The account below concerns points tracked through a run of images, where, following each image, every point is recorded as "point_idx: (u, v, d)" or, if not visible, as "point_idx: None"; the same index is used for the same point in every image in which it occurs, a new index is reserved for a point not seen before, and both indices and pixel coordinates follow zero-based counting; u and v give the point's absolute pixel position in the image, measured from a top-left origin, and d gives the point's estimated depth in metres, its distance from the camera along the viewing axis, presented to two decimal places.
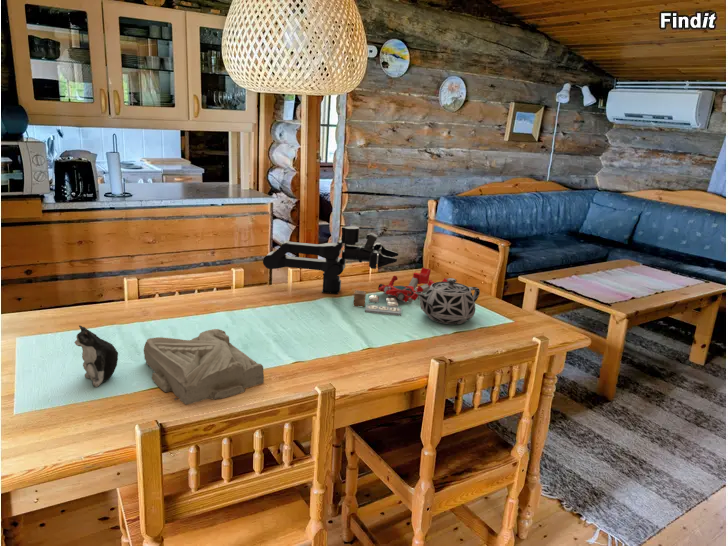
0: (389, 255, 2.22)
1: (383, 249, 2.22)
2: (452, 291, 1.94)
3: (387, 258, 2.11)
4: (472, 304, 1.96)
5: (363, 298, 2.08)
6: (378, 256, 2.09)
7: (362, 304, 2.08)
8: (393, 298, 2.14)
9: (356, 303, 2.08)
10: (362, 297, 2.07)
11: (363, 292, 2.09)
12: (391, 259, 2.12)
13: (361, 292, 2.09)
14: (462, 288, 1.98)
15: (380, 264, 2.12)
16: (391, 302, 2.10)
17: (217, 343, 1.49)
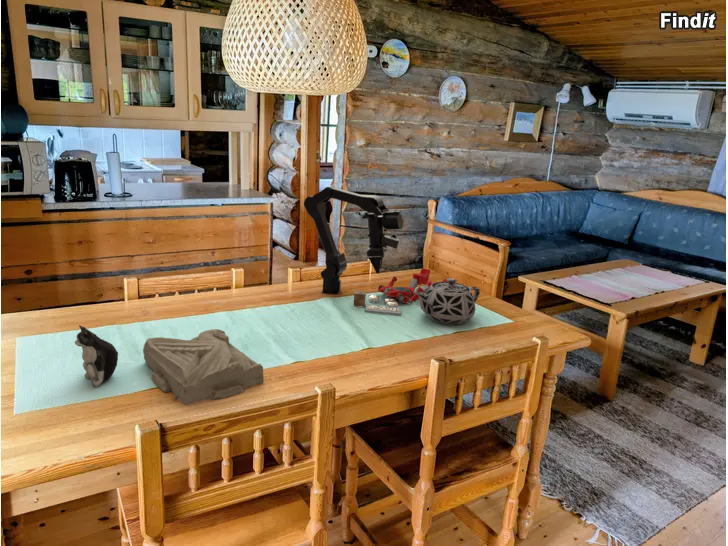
0: None
1: None
2: (452, 291, 1.94)
3: (378, 264, 2.06)
4: (472, 304, 1.96)
5: (363, 298, 2.08)
6: (380, 256, 2.03)
7: (362, 304, 2.08)
8: (392, 299, 2.14)
9: (356, 303, 2.08)
10: (362, 297, 2.07)
11: (363, 292, 2.09)
12: (378, 268, 2.07)
13: (361, 292, 2.09)
14: (462, 288, 1.98)
15: (371, 258, 2.05)
16: (391, 302, 2.10)
17: (217, 343, 1.49)
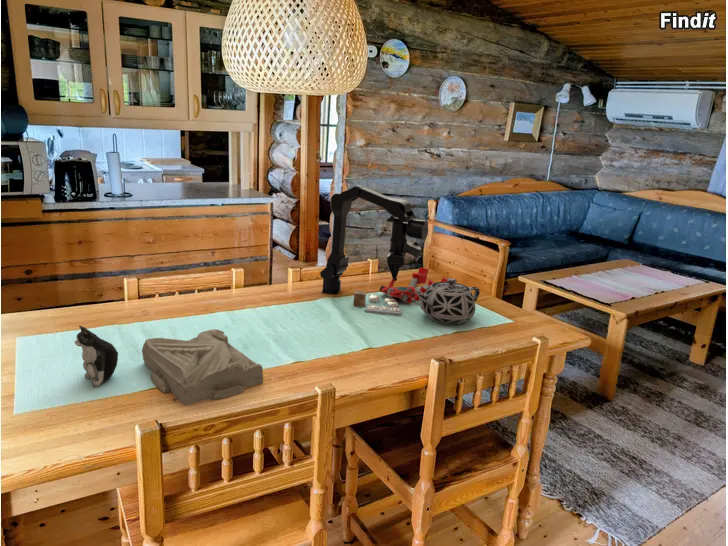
0: None
1: None
2: (452, 291, 1.94)
3: (396, 271, 2.01)
4: (472, 304, 1.96)
5: (363, 298, 2.08)
6: (400, 264, 1.98)
7: (362, 304, 2.08)
8: (391, 299, 2.14)
9: (356, 303, 2.08)
10: (362, 297, 2.07)
11: (363, 292, 2.09)
12: (395, 275, 2.02)
13: (361, 292, 2.09)
14: (462, 288, 1.98)
15: None
16: (391, 302, 2.10)
17: (216, 343, 1.49)
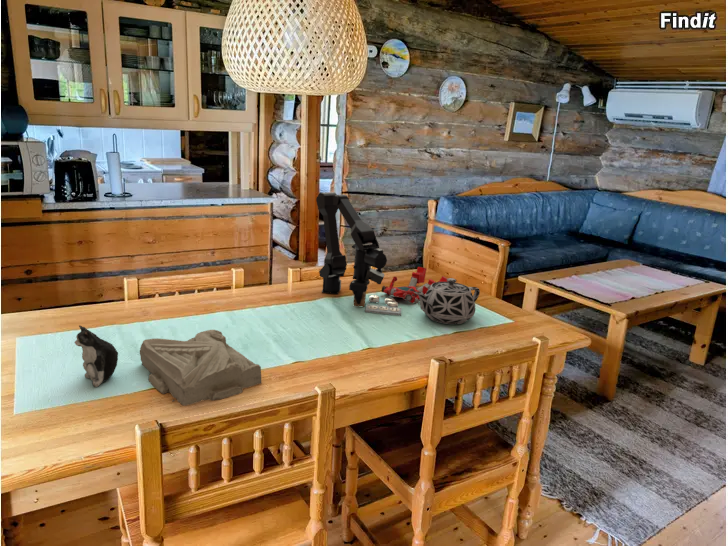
0: None
1: None
2: (452, 291, 1.94)
3: (360, 296, 2.06)
4: (472, 304, 1.96)
5: (363, 298, 2.08)
6: None
7: (362, 304, 2.08)
8: (391, 299, 2.14)
9: (356, 303, 2.08)
10: (362, 297, 2.07)
11: (363, 292, 2.09)
12: (359, 299, 2.07)
13: None
14: (462, 288, 1.98)
15: None
16: (391, 302, 2.10)
17: (214, 344, 1.48)
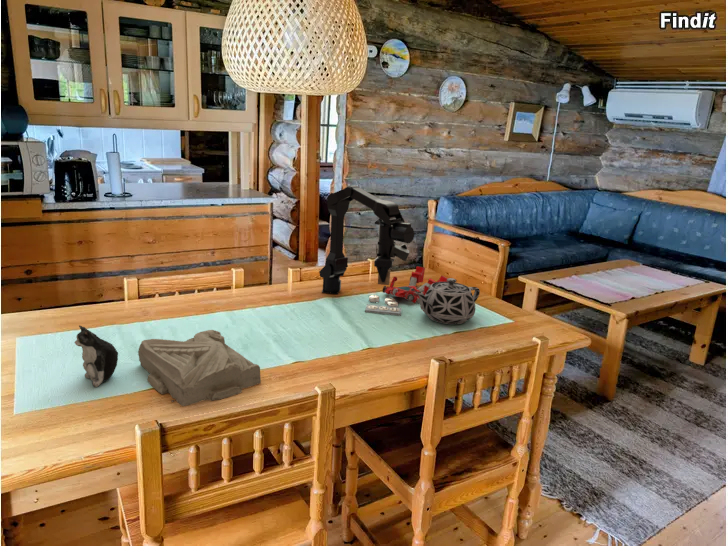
0: None
1: None
2: (452, 291, 1.94)
3: (385, 273, 1.99)
4: (472, 304, 1.96)
5: (388, 275, 2.00)
6: None
7: (387, 282, 2.01)
8: (391, 299, 2.14)
9: (380, 281, 2.01)
10: (387, 274, 2.00)
11: (388, 269, 2.02)
12: (384, 277, 1.99)
13: None
14: (462, 288, 1.98)
15: (378, 266, 1.97)
16: (391, 302, 2.10)
17: (213, 344, 1.48)
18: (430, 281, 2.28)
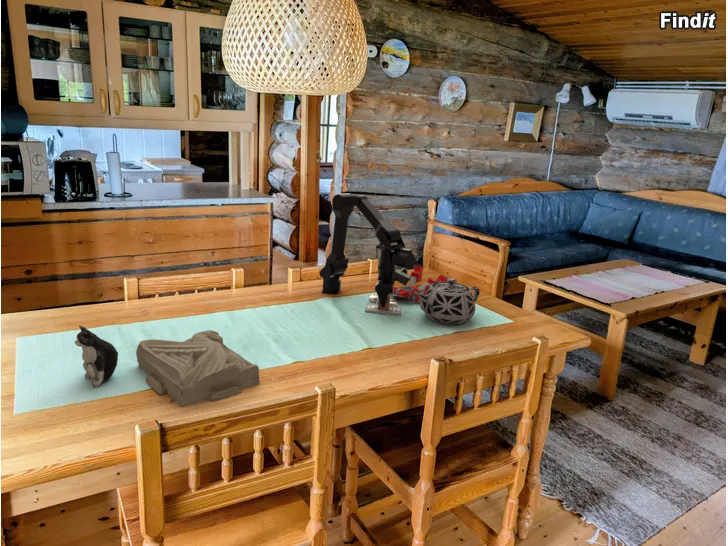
0: None
1: None
2: (452, 291, 1.94)
3: (385, 298, 1.99)
4: (472, 304, 1.96)
5: (388, 301, 2.03)
6: None
7: (387, 307, 2.03)
8: (391, 299, 2.14)
9: (380, 306, 2.03)
10: (387, 300, 2.02)
11: (388, 295, 2.04)
12: (384, 302, 2.00)
13: None
14: (462, 288, 1.98)
15: (379, 292, 1.98)
16: (391, 302, 2.10)
17: (211, 344, 1.48)
18: (430, 280, 2.29)
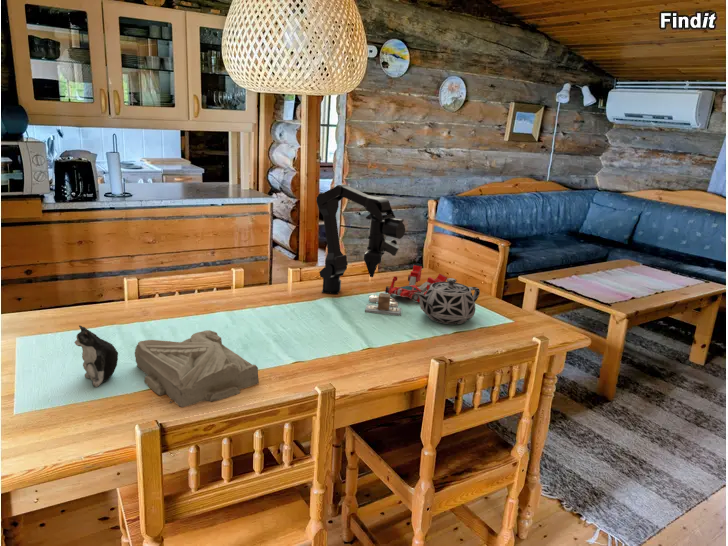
0: None
1: None
2: (452, 291, 1.94)
3: (373, 268, 2.02)
4: (472, 304, 1.96)
5: (388, 301, 2.03)
6: (377, 262, 1.99)
7: (387, 307, 2.03)
8: (391, 299, 2.14)
9: (380, 306, 2.03)
10: (387, 300, 2.02)
11: (388, 295, 2.04)
12: (372, 272, 2.03)
13: (386, 295, 2.04)
14: (462, 288, 1.98)
15: (367, 262, 2.01)
16: (391, 302, 2.10)
17: (210, 345, 1.48)
18: (430, 280, 2.30)
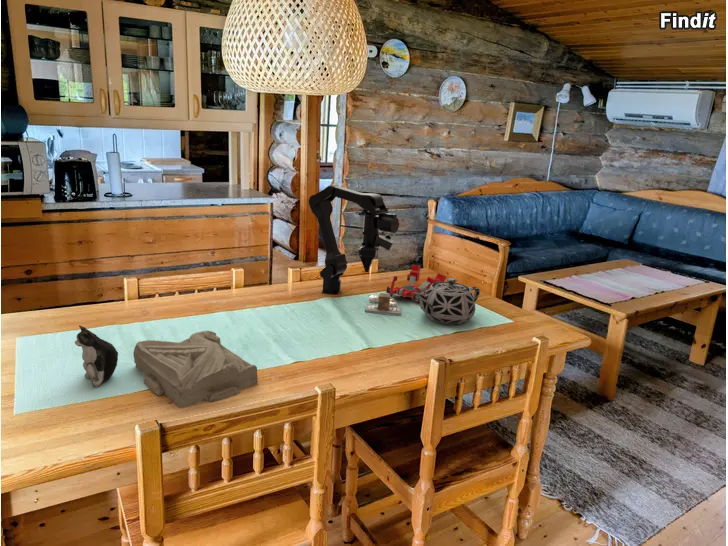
0: None
1: None
2: (452, 291, 1.94)
3: (368, 263, 2.04)
4: (472, 304, 1.96)
5: (388, 301, 2.03)
6: (371, 256, 2.01)
7: (387, 307, 2.03)
8: (391, 299, 2.14)
9: (380, 306, 2.03)
10: (387, 300, 2.02)
11: (388, 295, 2.04)
12: (367, 267, 2.05)
13: (386, 295, 2.04)
14: (462, 288, 1.98)
15: (362, 257, 2.03)
16: (391, 302, 2.10)
17: (209, 345, 1.48)
18: (429, 279, 2.31)
